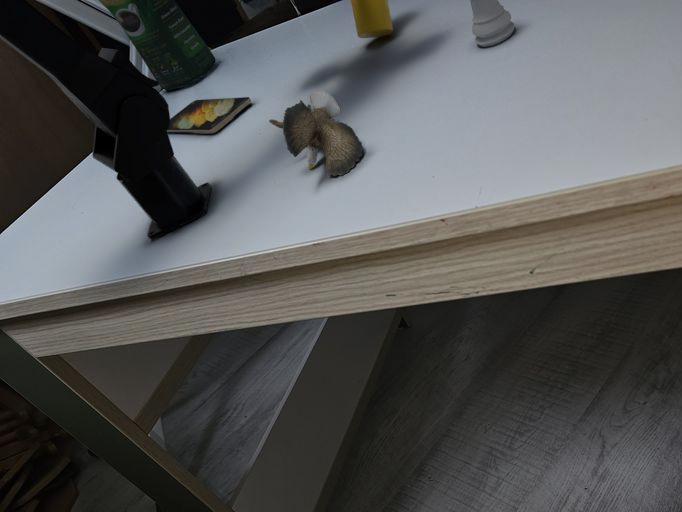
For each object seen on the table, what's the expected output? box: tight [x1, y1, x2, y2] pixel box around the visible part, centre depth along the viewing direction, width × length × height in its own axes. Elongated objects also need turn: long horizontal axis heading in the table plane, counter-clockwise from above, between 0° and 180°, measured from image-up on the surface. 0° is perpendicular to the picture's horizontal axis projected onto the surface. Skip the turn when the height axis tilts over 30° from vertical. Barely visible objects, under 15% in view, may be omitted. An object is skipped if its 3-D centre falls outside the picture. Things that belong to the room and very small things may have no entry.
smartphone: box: [167, 96, 252, 134], centre depth 91 cm, size 7×1×15 cm
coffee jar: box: [98, 0, 217, 91], centre depth 103 cm, size 10×8×19 cm
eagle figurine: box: [268, 90, 363, 177], centre depth 65 cm, size 8×7×9 cm
